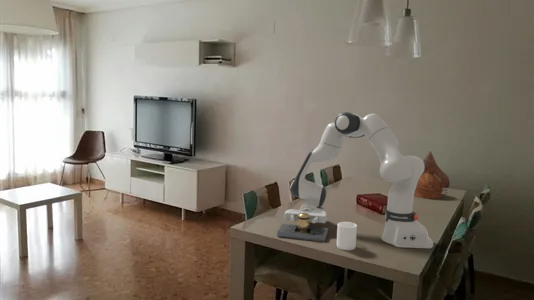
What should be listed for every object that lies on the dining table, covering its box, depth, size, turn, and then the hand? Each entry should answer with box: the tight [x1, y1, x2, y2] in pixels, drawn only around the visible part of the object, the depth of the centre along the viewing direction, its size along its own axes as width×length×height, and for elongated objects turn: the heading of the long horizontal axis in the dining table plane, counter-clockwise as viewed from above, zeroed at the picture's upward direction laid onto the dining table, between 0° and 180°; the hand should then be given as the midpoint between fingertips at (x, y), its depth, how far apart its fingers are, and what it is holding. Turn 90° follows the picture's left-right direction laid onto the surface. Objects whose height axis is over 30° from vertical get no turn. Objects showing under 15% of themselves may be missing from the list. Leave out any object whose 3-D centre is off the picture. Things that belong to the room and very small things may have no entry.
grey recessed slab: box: [276, 223, 329, 242], centre depth 205 cm, size 22×12×2 cm, turn 76°
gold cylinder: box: [297, 213, 310, 233], centre depth 204 cm, size 5×5×10 cm
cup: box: [336, 221, 358, 251], centre depth 192 cm, size 8×12×10 cm
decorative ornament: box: [414, 151, 450, 200], centre depth 286 cm, size 26×19×30 cm
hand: (303, 220), depth 203 cm, fingers open, 8 cm apart
